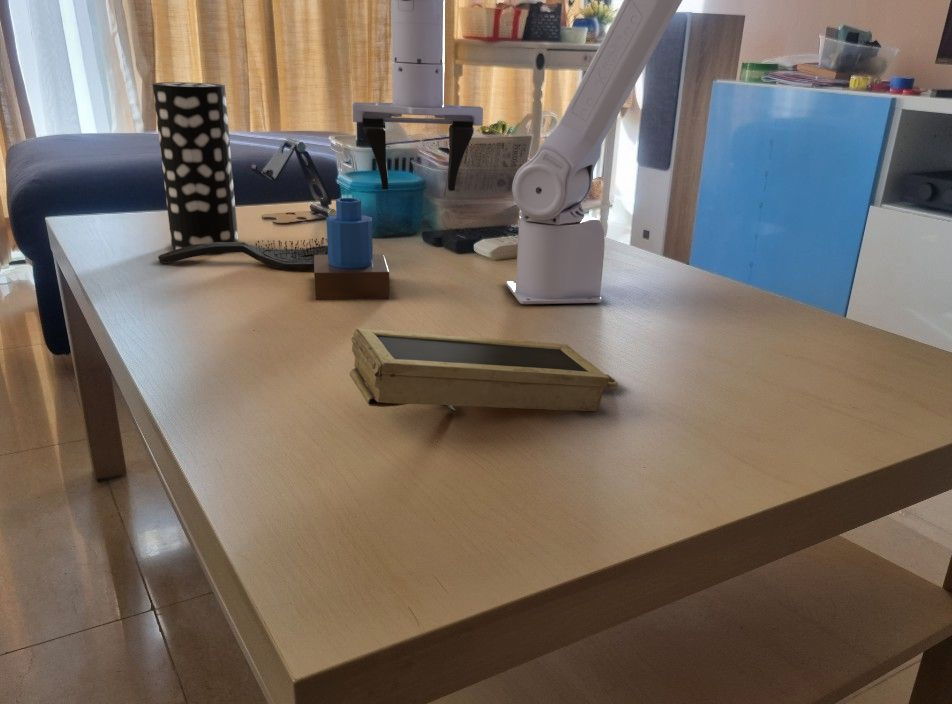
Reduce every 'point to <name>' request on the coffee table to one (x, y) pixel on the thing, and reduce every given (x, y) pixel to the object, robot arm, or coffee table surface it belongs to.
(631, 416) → the coffee table surface
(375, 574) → the coffee table surface
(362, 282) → the block
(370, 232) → the bottle
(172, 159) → the white-spotted black cylinder
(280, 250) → the hairbrush
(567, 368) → the box
